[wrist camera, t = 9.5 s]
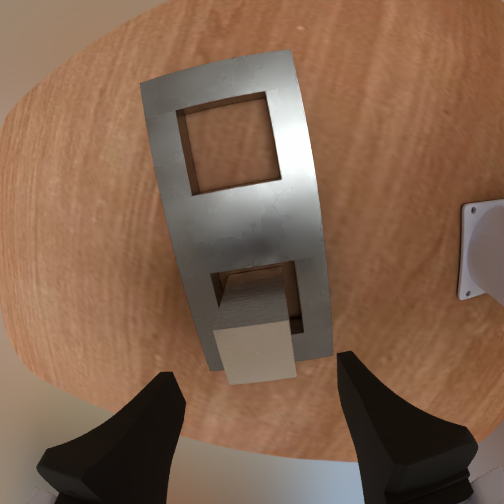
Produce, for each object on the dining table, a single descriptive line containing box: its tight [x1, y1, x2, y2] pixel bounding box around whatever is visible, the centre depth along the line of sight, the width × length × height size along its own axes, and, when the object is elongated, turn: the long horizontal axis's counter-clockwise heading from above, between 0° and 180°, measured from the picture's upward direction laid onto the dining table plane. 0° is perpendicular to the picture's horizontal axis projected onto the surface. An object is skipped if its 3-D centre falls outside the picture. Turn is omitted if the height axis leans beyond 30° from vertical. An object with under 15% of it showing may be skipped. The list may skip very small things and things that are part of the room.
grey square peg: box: [213, 267, 297, 385], centre depth 18 cm, size 4×4×7 cm
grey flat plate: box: [140, 49, 333, 371], centre depth 18 cm, size 9×20×2 cm, turn 10°
